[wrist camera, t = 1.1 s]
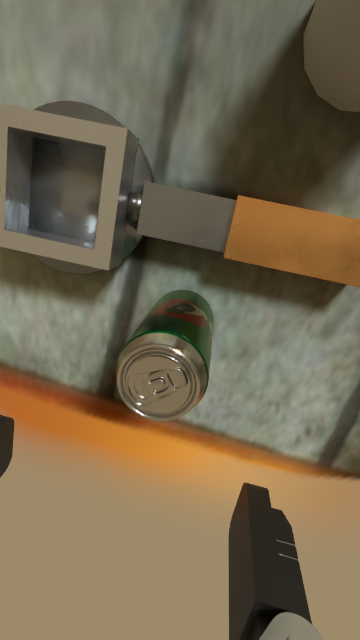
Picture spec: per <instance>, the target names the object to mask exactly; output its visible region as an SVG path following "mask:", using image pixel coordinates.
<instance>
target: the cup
mask: <svg viewBox="0 0 360 640" xmlns="http://www.w3.org/2000/svg"><path fill="white" fill-rule="evenodd" d="M304 69H305V71H306V73H307V75H308V77H309V79H310V81H311V83H312V85H313V87H314V89H315V91H316V93H317V95H318V96H319V97H321V98H322V99H324V100H325V101H327V102H328V103H330V104H331V105H332V106H334V107H335V108H337V109H338V110H340V111H350V112H360V0H316V3H315V5H314V8H313V11H312V13H311V16H310V19H309V22H308V24H307V27H306V30H305V32H304Z"/></svg>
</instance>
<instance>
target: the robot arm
mask: <svg viewBox="0 0 360 640" xmlns="http://www.w3.org/2000/svg"><path fill="white" fill-rule="evenodd" d="M13 433H14V420H13V418H10V417H6V416H2V415H0V477H1V476H2V475H3V474H4V472H5V471H6V469H7V467H8V465H9V463H10V461H11V457H12V448H13ZM229 640H323V638H322V637H321V635H320V633H319V632H318V631H317V630H316V628H315V627H314V626H313V625H312V622H311V618H310V613H309V609H308V604H307V599H306V594H305V589H304V585H303V580H302V575H301V570H300V566H299V562H298V556H297V551H296V547H295V542H294V537H293V532H292V527H291V525H290V524H289V522H288V520H287V519H286V517H285V515H284V514H283V512H282V511H281V510H277V509H274V508H271V503H270V497H269V491H268V489H267V488H263V487H260V486H256V485H252V484H249V483H244V484H243V486H242V489H241V492H240V495H239V498H238V501H237V504H236V506H235V510H234V512H233V516H232V519H231V523H230V529H229Z"/></svg>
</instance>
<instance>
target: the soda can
mask: <svg viewBox="0 0 360 640" xmlns="http://www.w3.org/2000/svg"><path fill="white" fill-rule="evenodd" d="M213 323H214V317H213V312H212V309H211V307H210V305H209V304H208V302H207V301H206V300H205V299H204V298H203V297H202V296H200V295H199V294H197V293H195V292H192V291H188V290H176V291H172V292H170V293H168V294H166V295H165V296H163V297H162V298H161V299H160V300H159V301H158V303H157V304H156V305H155V307H154V308H153V309H152V310H151V312H150V313H149V314H148V316H147V317H146V318H145V320H144V321H143V322H142V323H141V325H140V326H139V327H138V329H137V330H136V331H135V333H134V334H133V335H132V337H131V338H130V339H129V340H128V342H127V343H126V344H125V346H124V347H123V349H122V350H121V352H120V354H119V356H118V359H117V363H116V378H117V387H118V391H119V394H120V396H121V398H122V400H123V401H124V403H125V404H126V405H127V406H128V407H129V408H130V409H131V410H132V411H133V412H135V413H136V414H137V415H139V416H141V417H143V418H146V419H149V420H153V421H170V420H174V419H177V418H180V417H181V416H183V415H185V414H186V413H187V412H189V411H190V410H191V409H192V408H193V407H194V406H195V405H197V404H198V403H199V401H200V400H201V399H202V397H203V396H204V394H205V392H206V389H207V386H208V380H209V369H210V358H211V346H212V335H213Z"/></svg>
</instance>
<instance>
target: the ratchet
mask: <svg viewBox="0 0 360 640" xmlns="http://www.w3.org/2000/svg"><path fill="white" fill-rule="evenodd" d="M145 236H149V237H154V238H159V239H163V240H168V241H172V242H177V243H182V244H186V245H191V246H196V247H200V248H205V249H210V250H214V251H219V252H224V253H223V258H227V259H231V260H236V261H241V262H245V263H250V264H255V265H259V266H264V267H268V268H273V269H278V270H282V271H287V272H292V273H296V274H301V275H306V276H310V277H315V278H319V279H324V280H329V281H333V282H338V283H343V284H347V285H352V286H356V287H360V220H357V219H352V218H347V217H342V216H338V215H333V214H328V213H323V212H318V211H313V210H308V209H303V208H299V207H294V206H289V205H284V204H279V203H274V202H269V201H264V200H260V199H255V198H250V197H245V196H240V195H238V196H237V198H236V200H233V199H228V198H223V197H218V196H214V195H209V194H204V193H199V192H194V191H189V190H184V189H180V188H175V187H170V186H165V185H160V184H155V183H154V179H153V175H152V171H151V167H150V165H149V162H148V160H147V157H146V155H145V153H144V151H143V150H142V148H141V146H140V145H139V139H138V138H137V137H136V136H135V135H134V134H133V133H132V132H131V131H130V130H129V129H127V128H125V127H124V126H123V125H122V124H121V123H119V122H118V121H117V120H116V119H114V118H113V117H112V116H111V115H109V114H107V113H106V112H104V111H103V110H101V109H98V108H96V107H94V106H92V105H88V104H85V103H81V102H74V101H58V102H53V103H48V104H45V105H43V106H40V107H38V108H36V109H34V110H31V109H26V108H21V107H16V106H11V105H6V104H1V103H0V247H4V248H9V249H13V250H18V251H22V252H27V253H29V254H30V255H31V256H33V257H34V258H35V259H37V260H38V261H40V262H41V263H43V264H45V265H47V266H49V267H51V268H53V269H56V270H59V271H63V272H67V273H74V274H86V273H93V272H97V271H101V270H108V271H109V270H111V269H113V268H115V267H118V266H120V265H121V262H122V260H124V259H125V258H127V257H128V256H129V255H130V254H131V253H132V252H133V251H134V250H135V249H136V248H137V247H138V246H139V244H140V243H141V242H142V240H143V239H144V237H145Z"/></svg>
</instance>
